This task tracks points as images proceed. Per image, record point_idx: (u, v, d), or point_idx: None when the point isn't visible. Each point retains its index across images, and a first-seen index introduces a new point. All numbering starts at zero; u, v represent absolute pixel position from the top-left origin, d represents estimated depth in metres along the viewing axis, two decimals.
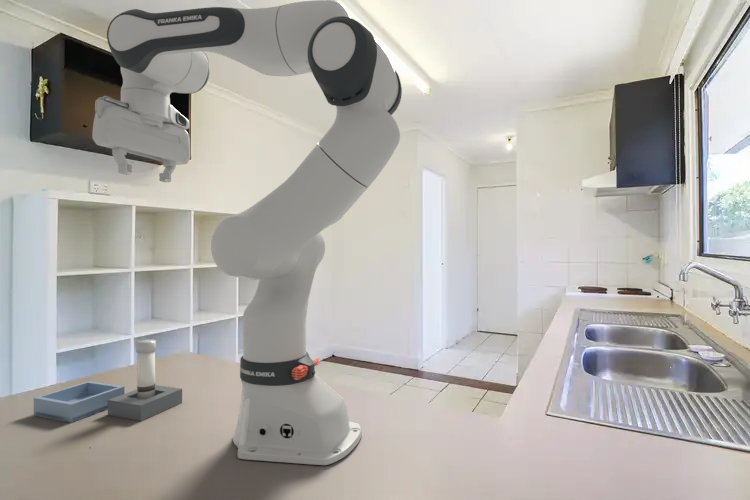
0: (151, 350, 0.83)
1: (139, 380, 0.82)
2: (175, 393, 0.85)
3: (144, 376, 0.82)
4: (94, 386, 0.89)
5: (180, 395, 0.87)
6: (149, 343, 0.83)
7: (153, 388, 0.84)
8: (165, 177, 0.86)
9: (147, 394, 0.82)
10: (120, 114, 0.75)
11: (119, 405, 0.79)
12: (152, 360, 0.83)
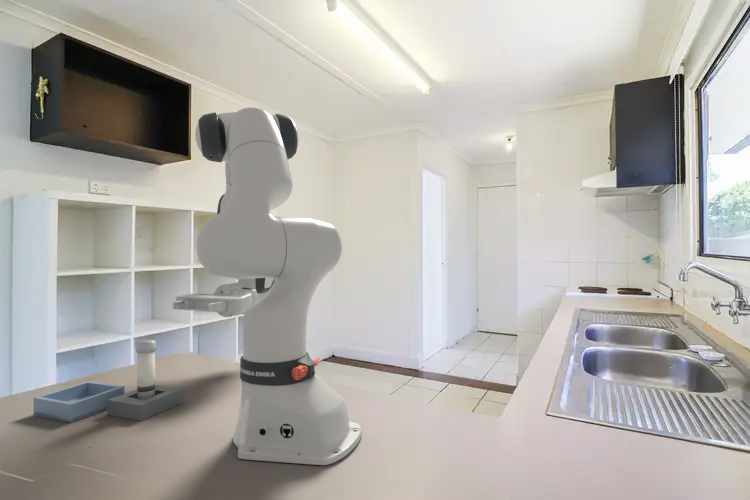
0: (151, 350, 0.83)
1: (139, 380, 0.82)
2: (175, 393, 0.85)
3: (144, 376, 0.82)
4: (94, 386, 0.89)
5: (180, 395, 0.87)
6: (149, 343, 0.83)
7: (153, 388, 0.84)
8: None
9: (147, 394, 0.82)
10: (200, 293, 1.08)
11: (119, 405, 0.79)
12: (152, 360, 0.83)
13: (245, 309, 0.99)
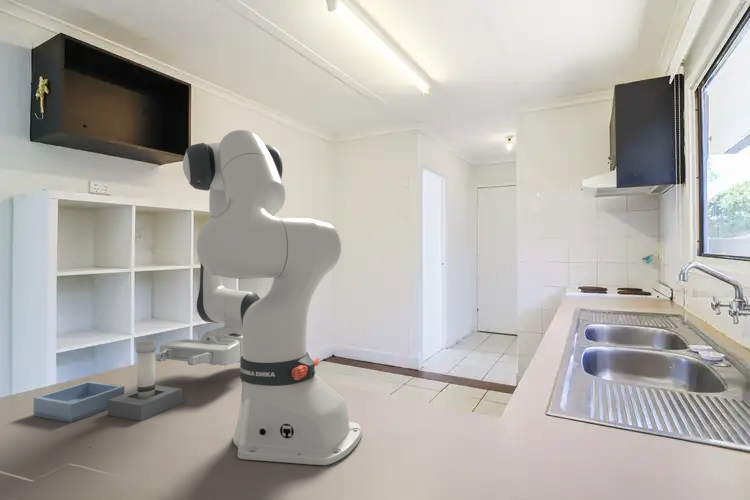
0: (151, 350, 0.83)
1: (139, 380, 0.82)
2: (175, 393, 0.85)
3: (144, 376, 0.82)
4: (94, 386, 0.89)
5: (180, 395, 0.87)
6: (149, 343, 0.83)
7: (153, 388, 0.84)
8: None
9: (147, 394, 0.82)
10: (186, 339, 1.03)
11: (119, 405, 0.79)
12: (152, 360, 0.83)
13: (232, 360, 0.94)
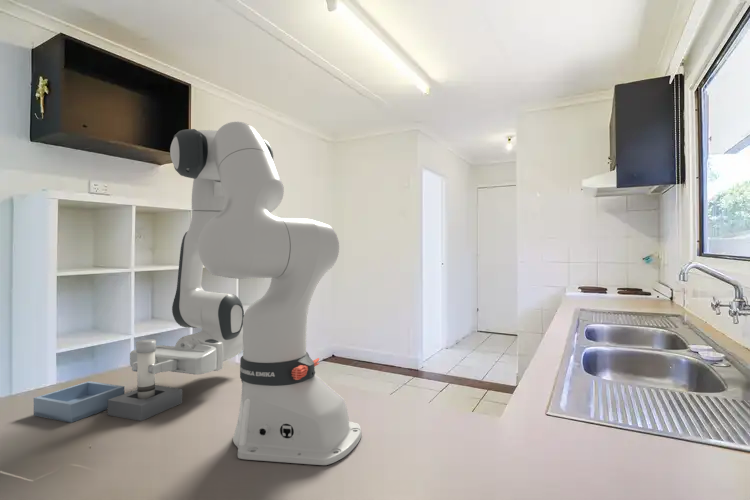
0: (151, 350, 0.83)
1: (139, 380, 0.82)
2: (175, 393, 0.85)
3: (144, 376, 0.82)
4: (94, 386, 0.89)
5: (180, 395, 0.87)
6: (149, 343, 0.83)
7: (153, 388, 0.84)
8: None
9: (147, 394, 0.82)
10: (159, 346, 0.95)
11: (119, 405, 0.79)
12: (152, 360, 0.83)
13: (207, 369, 0.87)
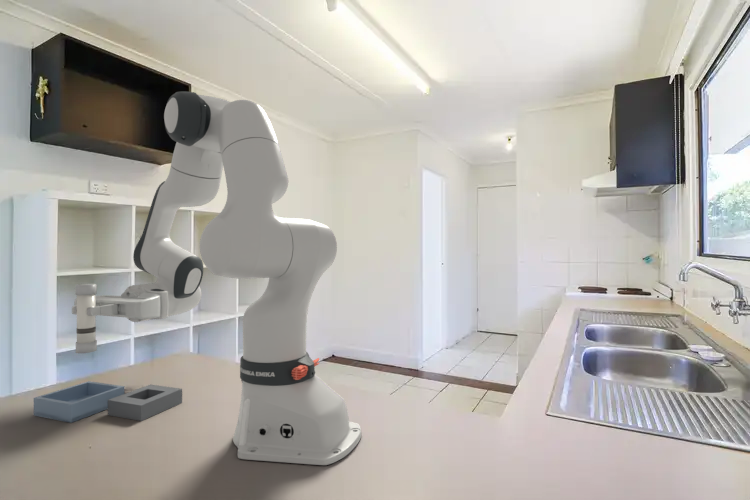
0: (90, 293, 0.83)
1: (78, 322, 0.83)
2: (175, 393, 0.85)
3: (83, 318, 0.83)
4: (94, 386, 0.89)
5: (180, 395, 0.87)
6: (88, 285, 0.83)
7: (93, 331, 0.84)
8: None
9: (86, 336, 0.83)
10: (106, 295, 0.96)
11: (119, 405, 0.79)
12: (91, 303, 0.84)
13: (148, 314, 0.87)
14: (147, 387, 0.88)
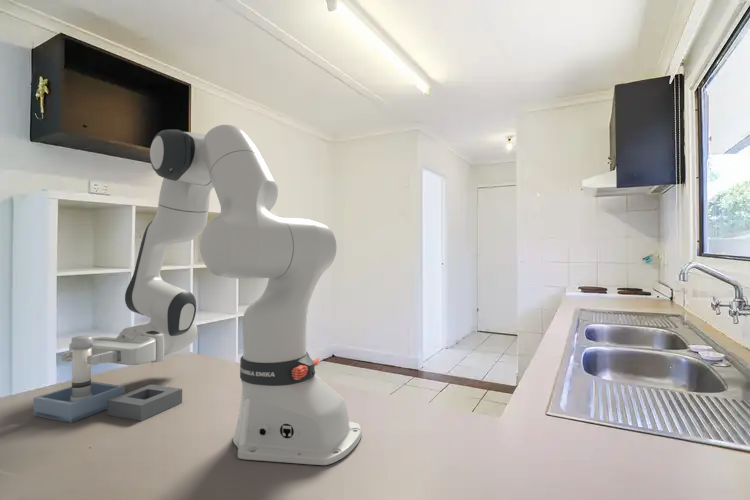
0: (86, 346, 0.83)
1: (73, 376, 0.83)
2: (175, 393, 0.85)
3: (79, 372, 0.82)
4: (94, 386, 0.89)
5: (180, 395, 0.87)
6: (84, 339, 0.83)
7: (88, 384, 0.84)
8: None
9: (81, 390, 0.83)
10: (102, 337, 0.95)
11: (119, 405, 0.79)
12: (87, 356, 0.83)
13: (143, 360, 0.87)
14: (147, 387, 0.88)
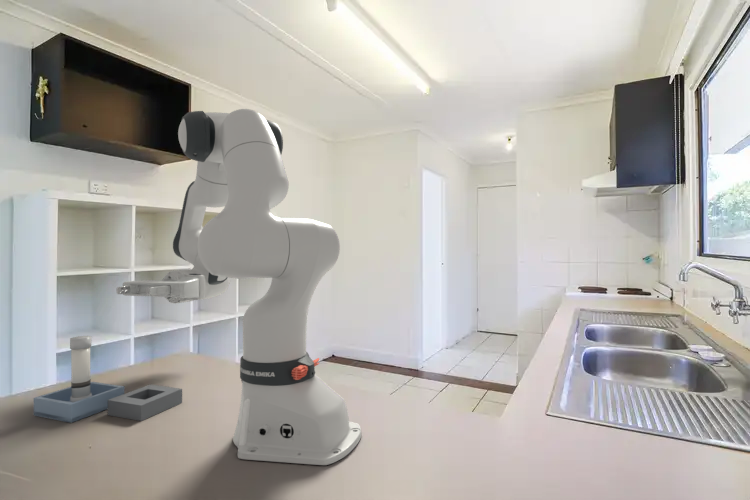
0: (85, 346, 0.83)
1: (73, 376, 0.82)
2: (175, 393, 0.85)
3: (78, 372, 0.82)
4: (94, 386, 0.89)
5: (180, 395, 0.87)
6: (83, 339, 0.83)
7: (88, 384, 0.84)
8: None
9: (80, 390, 0.83)
10: (149, 280, 1.08)
11: (119, 405, 0.79)
12: (86, 356, 0.83)
13: (190, 294, 0.99)
14: (147, 387, 0.88)
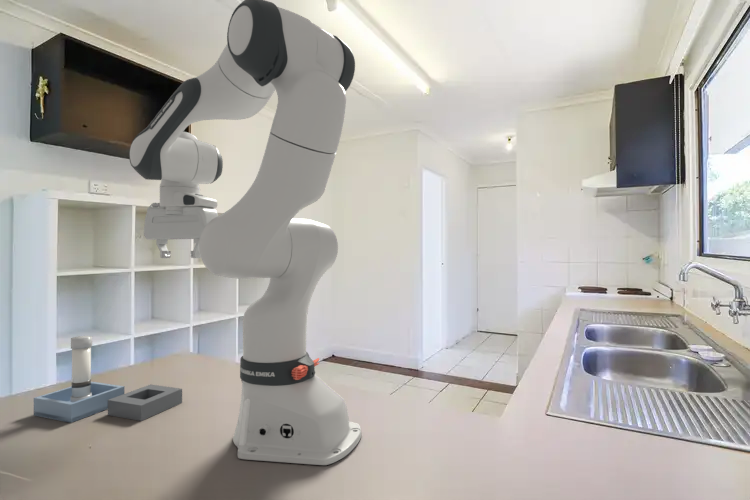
0: (86, 346, 0.83)
1: (73, 376, 0.83)
2: (175, 393, 0.85)
3: (78, 372, 0.83)
4: (94, 386, 0.89)
5: (180, 395, 0.87)
6: (84, 339, 0.83)
7: (88, 384, 0.84)
8: None
9: (81, 390, 0.83)
10: (151, 214, 0.98)
11: (119, 405, 0.79)
12: (87, 356, 0.84)
13: None
14: (147, 387, 0.88)
